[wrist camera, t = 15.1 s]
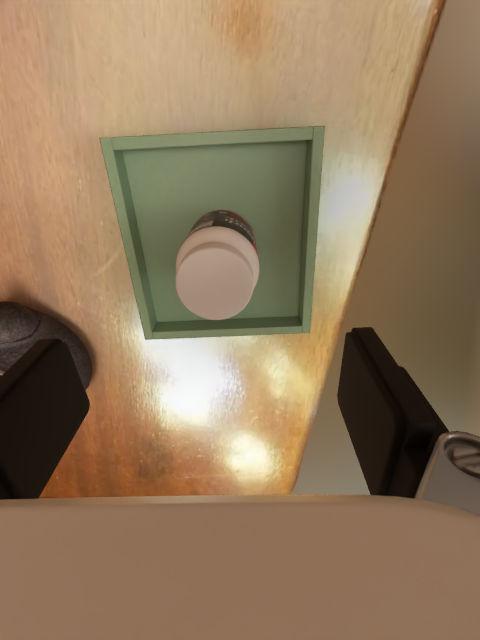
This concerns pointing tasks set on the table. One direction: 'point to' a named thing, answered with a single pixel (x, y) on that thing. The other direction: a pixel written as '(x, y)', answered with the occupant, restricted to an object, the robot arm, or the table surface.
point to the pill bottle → (217, 266)
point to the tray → (220, 194)
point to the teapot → (36, 337)
